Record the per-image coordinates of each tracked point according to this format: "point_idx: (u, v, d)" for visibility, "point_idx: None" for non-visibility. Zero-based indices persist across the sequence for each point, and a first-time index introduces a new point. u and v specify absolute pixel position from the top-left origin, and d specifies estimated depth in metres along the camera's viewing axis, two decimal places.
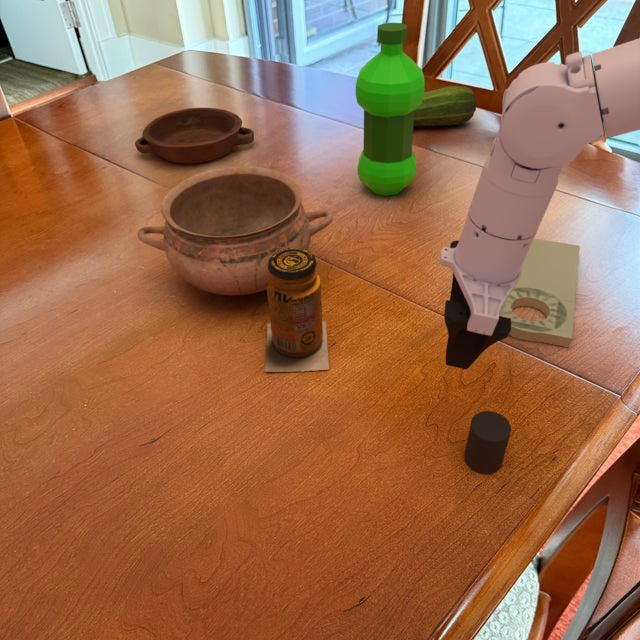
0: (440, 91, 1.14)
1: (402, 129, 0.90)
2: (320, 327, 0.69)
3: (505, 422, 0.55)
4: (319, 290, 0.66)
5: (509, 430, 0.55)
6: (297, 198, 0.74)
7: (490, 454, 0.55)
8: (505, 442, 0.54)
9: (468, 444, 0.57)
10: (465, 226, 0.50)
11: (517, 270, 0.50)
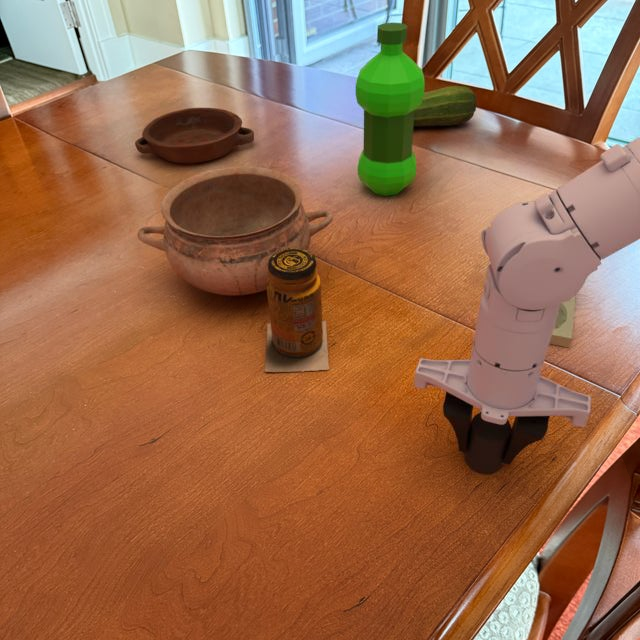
0: (440, 91, 1.14)
1: (402, 129, 0.90)
2: (320, 327, 0.69)
3: None
4: (319, 290, 0.66)
5: (509, 430, 0.54)
6: (297, 198, 0.74)
7: (490, 455, 0.55)
8: (505, 442, 0.54)
9: (468, 444, 0.57)
10: (508, 380, 0.47)
11: None
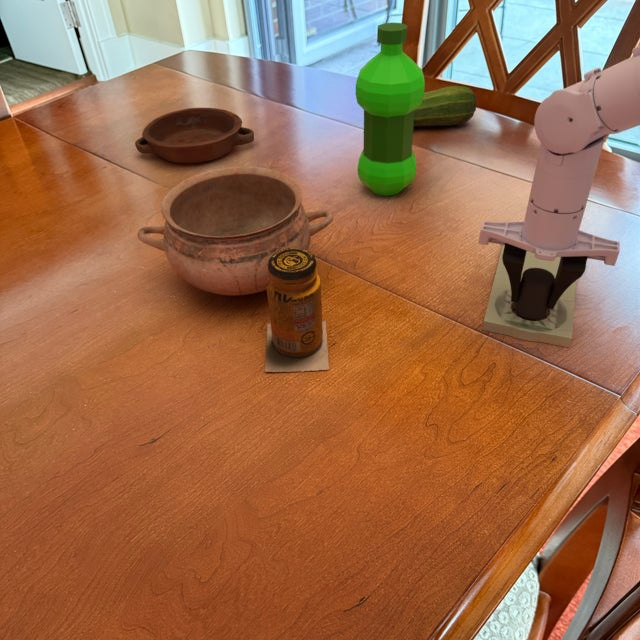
0: (440, 91, 1.14)
1: (402, 129, 0.90)
2: (320, 327, 0.69)
3: (550, 274, 0.70)
4: (319, 290, 0.66)
5: (553, 279, 0.69)
6: (297, 198, 0.74)
7: (538, 299, 0.70)
8: (550, 288, 0.69)
9: (519, 294, 0.71)
10: (558, 222, 0.62)
11: None
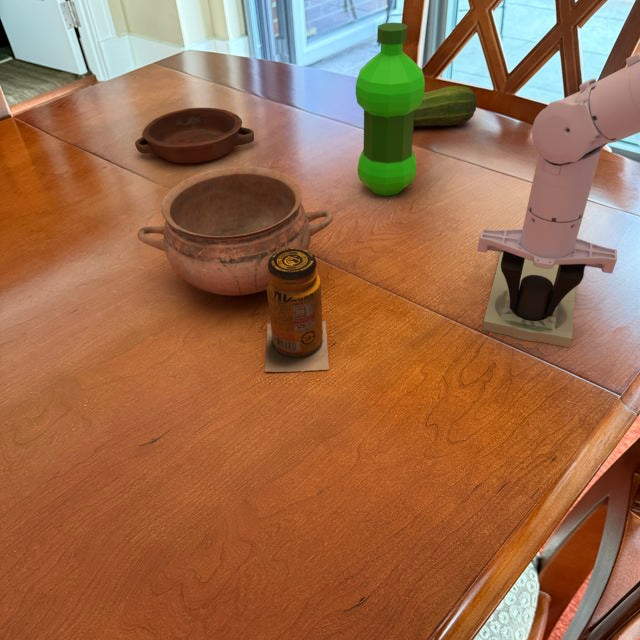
0: (440, 91, 1.14)
1: (402, 129, 0.90)
2: (320, 327, 0.69)
3: (548, 281, 0.70)
4: (319, 290, 0.66)
5: (551, 286, 0.70)
6: (297, 198, 0.74)
7: (536, 306, 0.70)
8: (548, 295, 0.70)
9: (518, 301, 0.72)
10: (555, 231, 0.62)
11: None
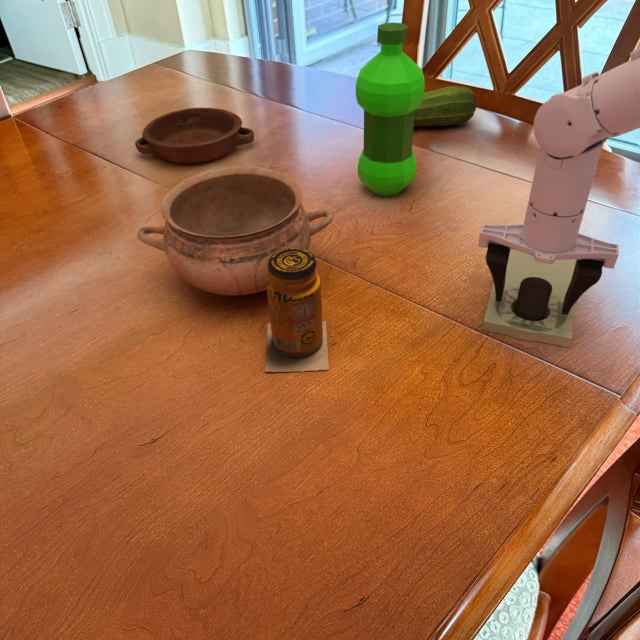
0: (440, 91, 1.14)
1: (402, 129, 0.90)
2: (320, 327, 0.69)
3: (547, 283, 0.71)
4: (319, 290, 0.66)
5: (551, 288, 0.70)
6: (297, 198, 0.74)
7: (535, 308, 0.70)
8: (548, 297, 0.70)
9: (517, 303, 0.72)
10: (557, 225, 0.62)
11: None
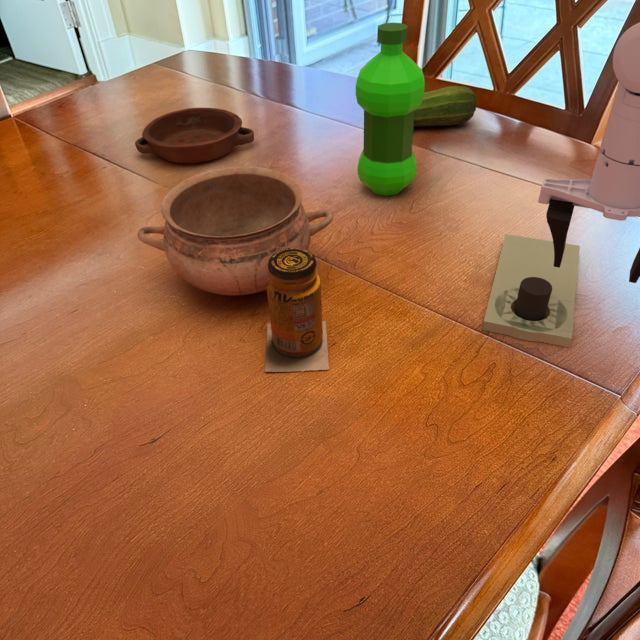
0: (440, 91, 1.14)
1: (402, 129, 0.90)
2: (320, 327, 0.69)
3: (547, 283, 0.71)
4: (319, 290, 0.66)
5: (551, 288, 0.70)
6: (297, 198, 0.74)
7: (535, 308, 0.70)
8: (548, 297, 0.70)
9: (517, 303, 0.72)
10: (632, 176, 0.55)
11: None
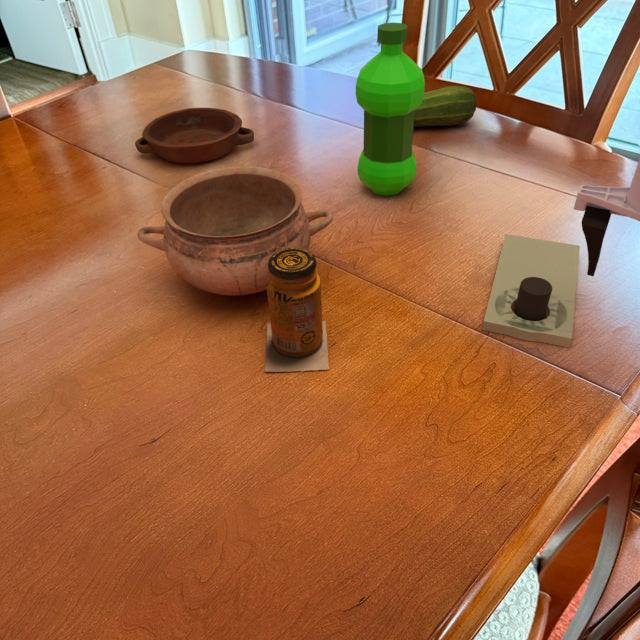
0: (440, 91, 1.14)
1: (402, 129, 0.90)
2: (320, 327, 0.69)
3: (547, 283, 0.71)
4: (319, 290, 0.66)
5: (551, 288, 0.70)
6: (297, 198, 0.74)
7: (535, 308, 0.70)
8: (548, 297, 0.70)
9: (517, 303, 0.72)
10: None
11: None
